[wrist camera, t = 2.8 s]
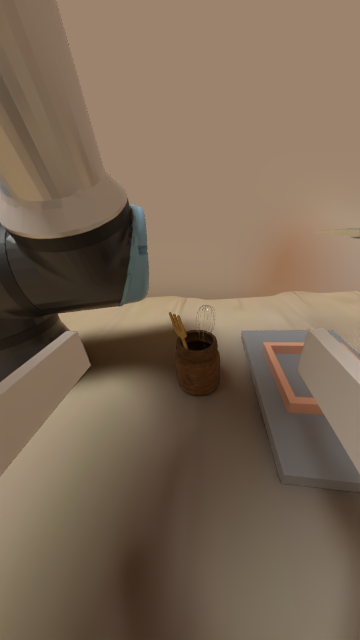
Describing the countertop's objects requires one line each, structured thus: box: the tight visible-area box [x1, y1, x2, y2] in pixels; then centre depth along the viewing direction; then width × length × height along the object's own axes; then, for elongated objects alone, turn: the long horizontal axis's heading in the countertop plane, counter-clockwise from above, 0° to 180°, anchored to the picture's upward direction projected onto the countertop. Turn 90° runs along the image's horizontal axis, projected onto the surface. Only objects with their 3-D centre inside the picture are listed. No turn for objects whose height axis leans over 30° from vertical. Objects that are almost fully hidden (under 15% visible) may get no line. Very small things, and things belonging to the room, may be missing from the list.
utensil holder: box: [169, 305, 220, 396], centre depth 24 cm, size 6×6×12 cm
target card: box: [241, 330, 360, 493], centre depth 23 cm, size 15×22×3 cm
